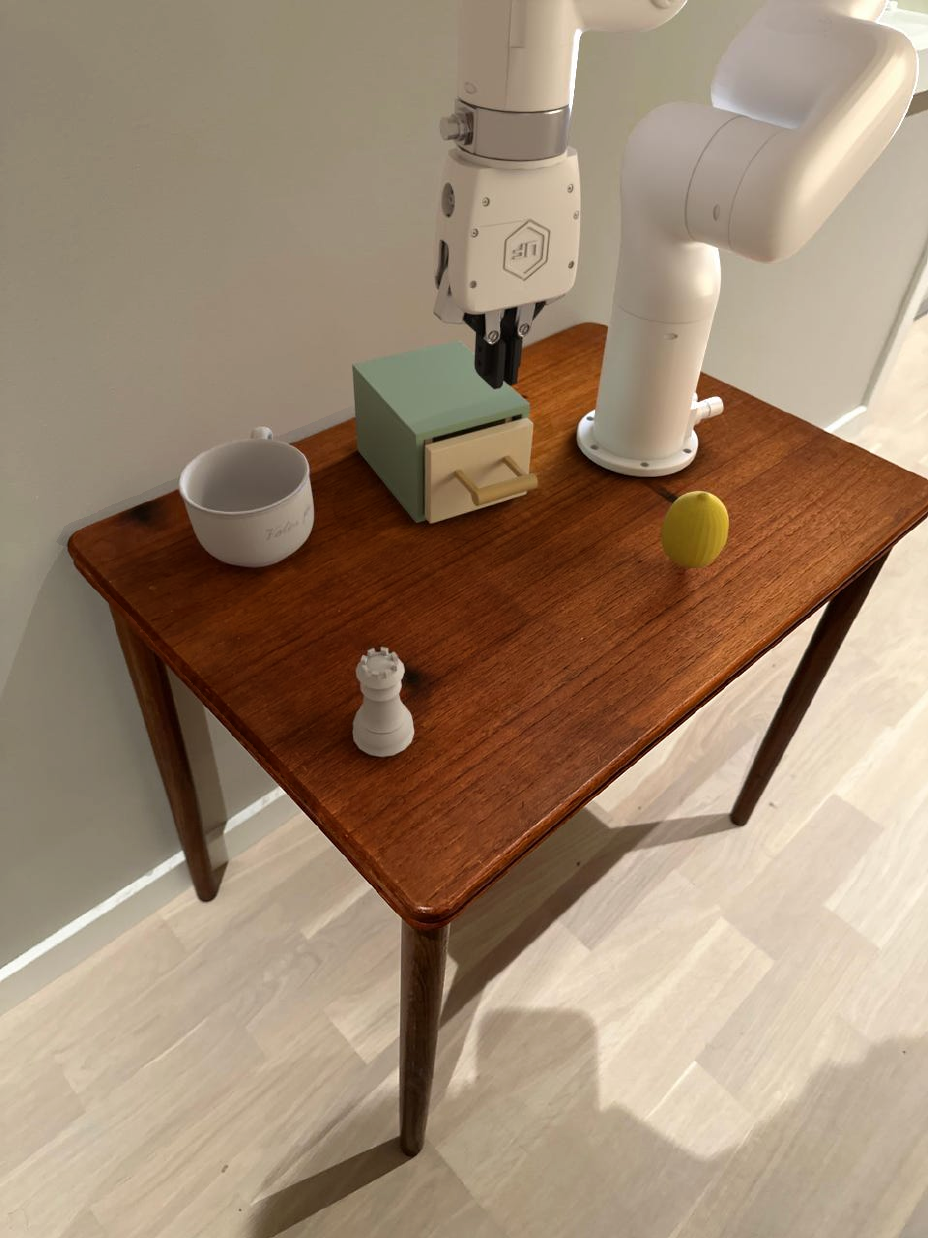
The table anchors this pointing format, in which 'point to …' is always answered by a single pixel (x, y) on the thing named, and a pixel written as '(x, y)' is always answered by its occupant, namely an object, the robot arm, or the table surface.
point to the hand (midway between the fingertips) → (496, 378)
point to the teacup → (249, 499)
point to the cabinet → (421, 411)
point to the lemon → (695, 529)
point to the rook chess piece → (382, 706)
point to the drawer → (477, 467)
